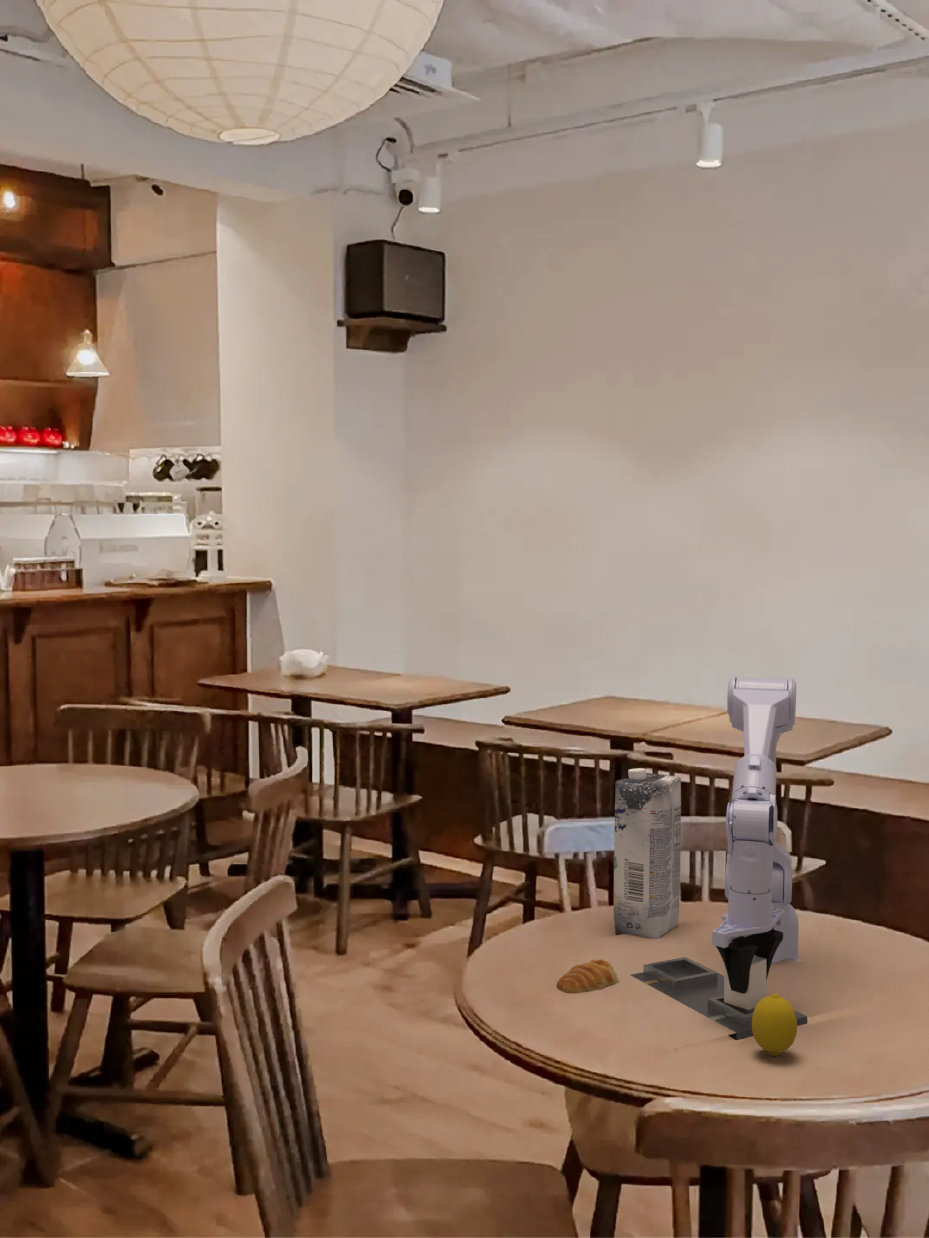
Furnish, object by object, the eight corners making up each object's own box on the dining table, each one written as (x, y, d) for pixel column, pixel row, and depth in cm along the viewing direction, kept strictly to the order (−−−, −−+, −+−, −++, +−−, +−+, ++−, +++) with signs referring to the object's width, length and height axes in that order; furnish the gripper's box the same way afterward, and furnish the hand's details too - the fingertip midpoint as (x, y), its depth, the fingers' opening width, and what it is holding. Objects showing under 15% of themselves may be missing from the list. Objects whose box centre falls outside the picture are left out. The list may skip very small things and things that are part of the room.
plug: (740, 994, 178) (741, 946, 178) (765, 1002, 175) (766, 953, 175) (724, 1002, 176) (724, 953, 175) (749, 1009, 173) (749, 960, 172)
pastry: (580, 1006, 180) (580, 979, 180) (544, 993, 185) (544, 967, 185) (623, 989, 187) (623, 963, 187) (587, 977, 192) (587, 952, 191)
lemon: (745, 1047, 166) (746, 986, 165) (787, 1046, 166) (789, 985, 166) (759, 1065, 160) (760, 1002, 160) (802, 1063, 161) (804, 1001, 160)
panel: (696, 968, 195) (696, 954, 195) (807, 1023, 174) (807, 1007, 174) (630, 981, 189) (630, 966, 189) (736, 1039, 168) (736, 1023, 168)
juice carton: (684, 929, 213) (686, 767, 211) (658, 947, 205) (660, 778, 202) (634, 920, 218) (636, 762, 216) (607, 937, 209) (609, 772, 207)
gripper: (754, 872, 182) (752, 966, 183) (693, 892, 172) (691, 992, 173) (799, 882, 177) (797, 979, 178) (738, 904, 167) (736, 1006, 168)
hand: (748, 986), depth 175 cm, fingers closed on plug, 4 cm apart
